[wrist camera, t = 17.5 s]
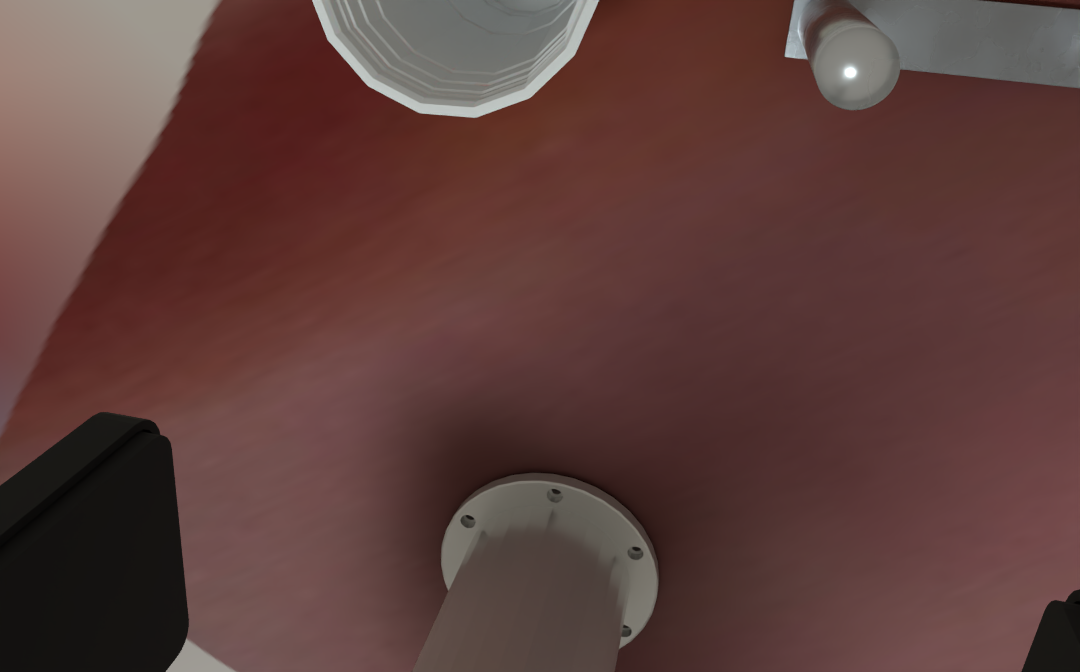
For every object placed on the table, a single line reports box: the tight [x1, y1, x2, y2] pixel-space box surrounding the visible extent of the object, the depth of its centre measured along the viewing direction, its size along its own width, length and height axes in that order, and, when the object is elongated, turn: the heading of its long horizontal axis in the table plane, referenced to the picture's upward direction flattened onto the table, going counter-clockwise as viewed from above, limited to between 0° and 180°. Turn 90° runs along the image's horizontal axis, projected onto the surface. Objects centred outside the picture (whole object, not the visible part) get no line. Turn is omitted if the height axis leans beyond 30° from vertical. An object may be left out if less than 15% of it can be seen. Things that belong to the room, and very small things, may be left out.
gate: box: [784, 0, 1080, 110], centre depth 33 cm, size 3×17×14 cm, turn 85°
